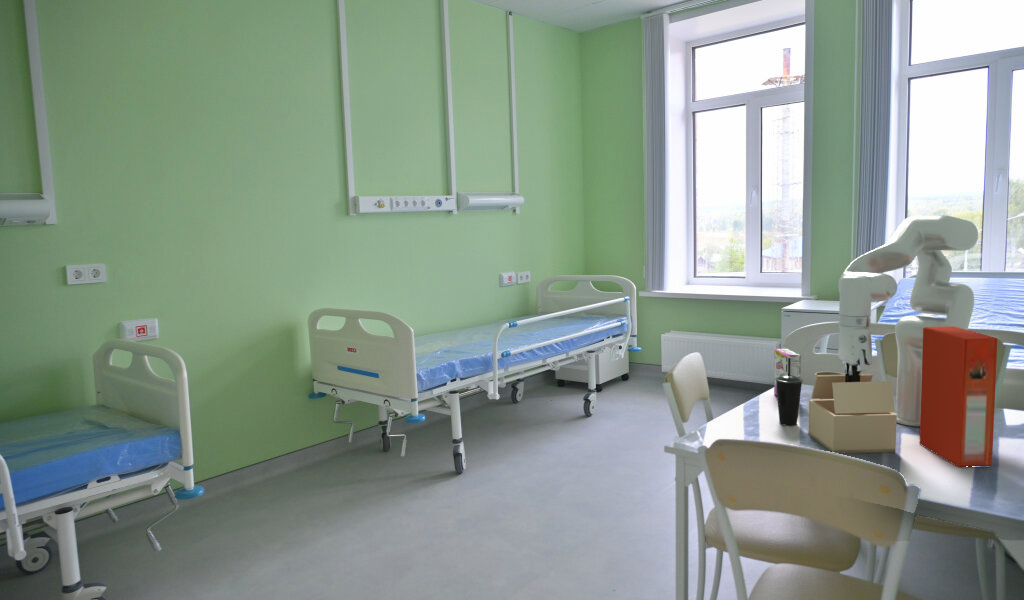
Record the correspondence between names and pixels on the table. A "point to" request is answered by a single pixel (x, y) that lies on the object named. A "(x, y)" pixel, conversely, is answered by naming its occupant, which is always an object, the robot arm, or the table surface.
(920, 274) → the robot arm
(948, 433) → the file binder
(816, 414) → the carton
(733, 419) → the table surface
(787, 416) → the drinking cup
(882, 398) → the flap
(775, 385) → the candy bar box
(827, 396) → the flap
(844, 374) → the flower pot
